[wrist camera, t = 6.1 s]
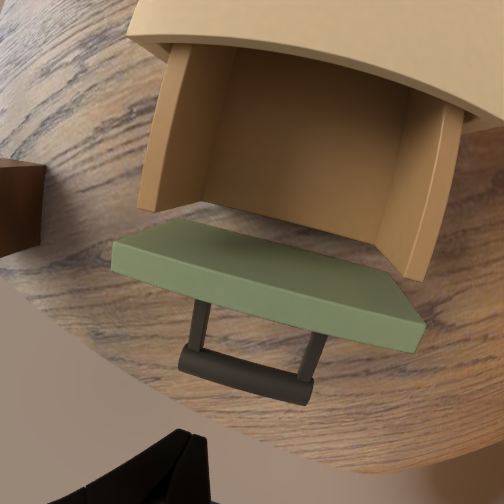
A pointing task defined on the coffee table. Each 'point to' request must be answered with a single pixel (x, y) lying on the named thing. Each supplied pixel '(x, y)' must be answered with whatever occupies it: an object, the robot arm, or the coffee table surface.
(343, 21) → the cabinet
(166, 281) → the drawer
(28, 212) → the brown cube
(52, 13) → the coffee table surface
